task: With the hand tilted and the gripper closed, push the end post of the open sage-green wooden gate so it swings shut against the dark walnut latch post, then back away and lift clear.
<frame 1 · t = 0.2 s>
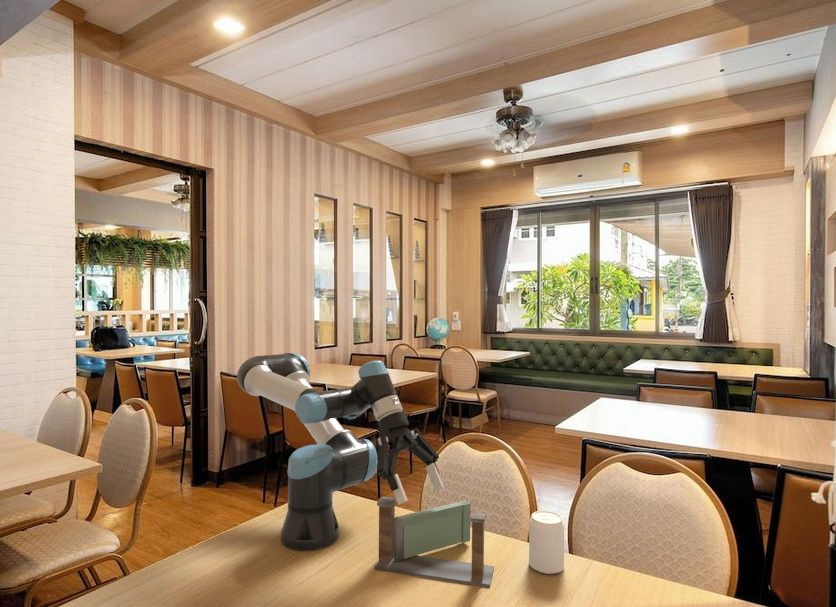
hand: (422, 496, 123), 15 cm above the table, tool tilted 35°, fingers open, 13 cm apart
gate: (432, 529, 126), point 6 cm above the table, hinge at 45.0°
white cylinder: (546, 567, 120), on the table
gate frame: (398, 562, 121), on the table
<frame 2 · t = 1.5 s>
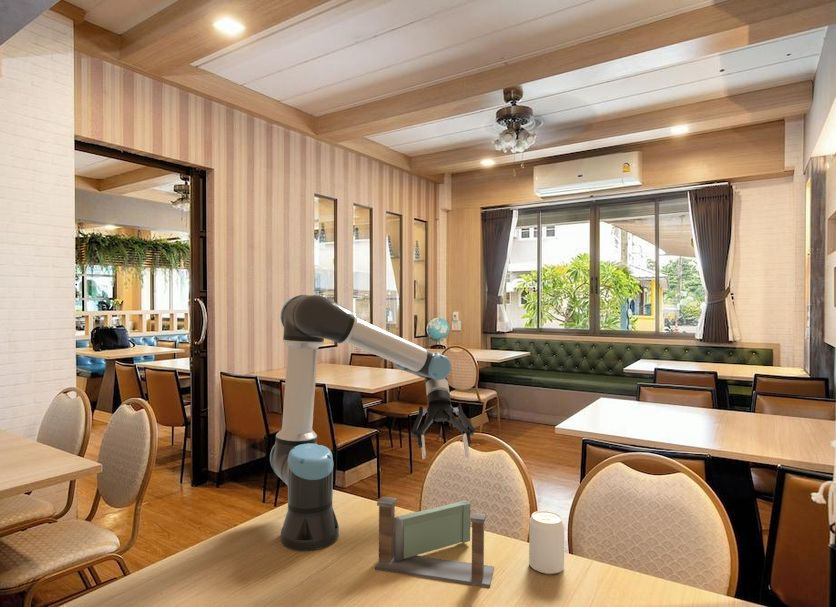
hand: (445, 456, 148), 17 cm above the table, tool tilted 45°, fingers open, 12 cm apart
nothing on the table moved.
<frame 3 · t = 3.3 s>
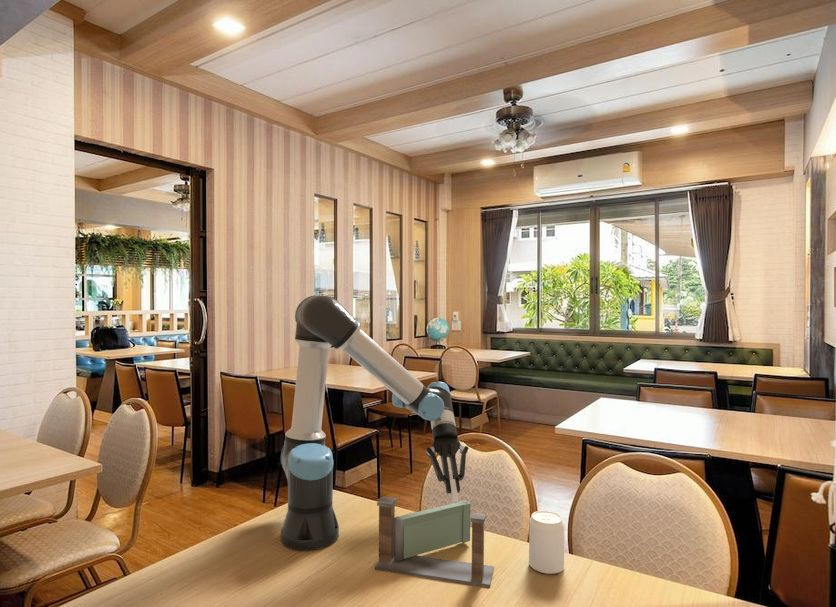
hand: (455, 504, 138), 7 cm above the table, tool tilted 45°, fingers closed
nothing on the table moved.
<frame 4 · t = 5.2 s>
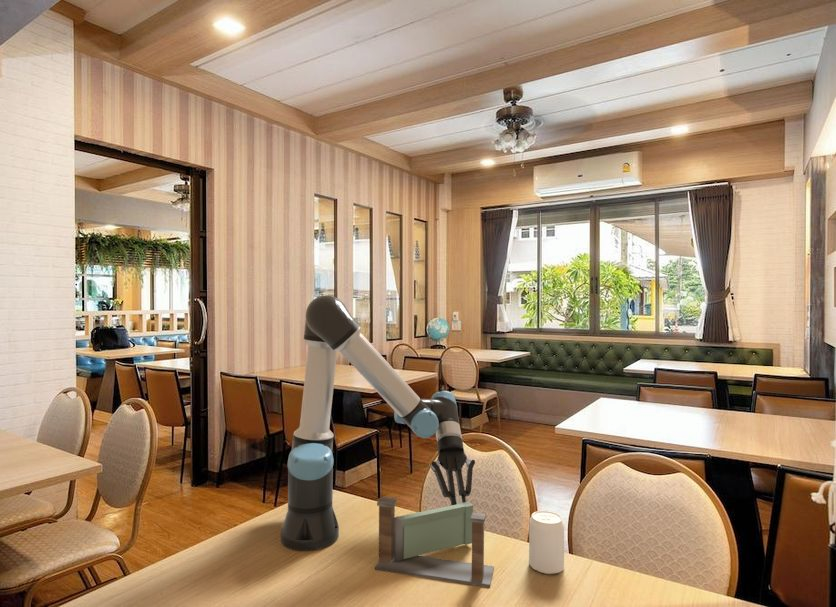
hand: (461, 522, 132), 5 cm above the table, tool tilted 45°, fingers closed
gate: (434, 530, 125), point 6 cm above the table, hinge at 41.4°, touching gripper
everything else where it was.
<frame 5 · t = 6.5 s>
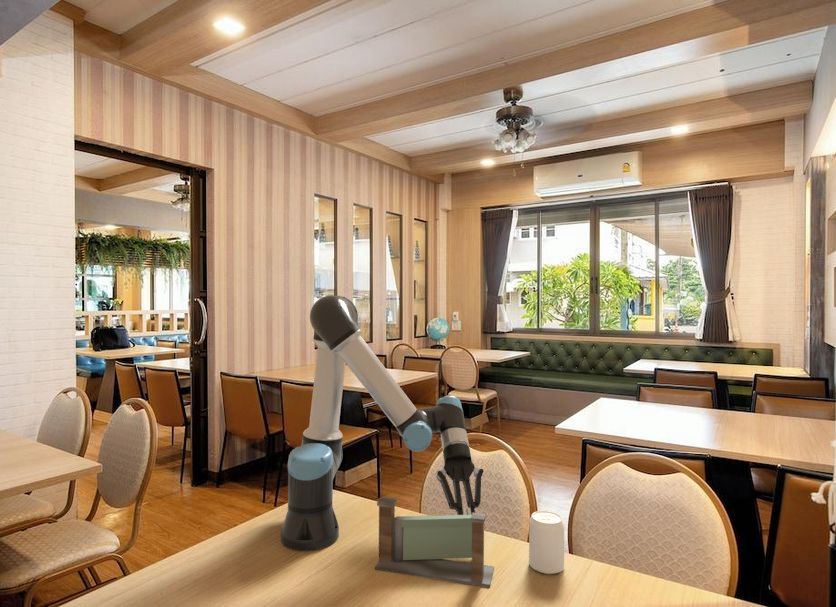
hand: (469, 536, 125), 5 cm above the table, tool tilted 45°, fingers closed
gate: (438, 537, 122), point 6 cm above the table, hinge at 19.0°, touching gripper
everything else where it was.
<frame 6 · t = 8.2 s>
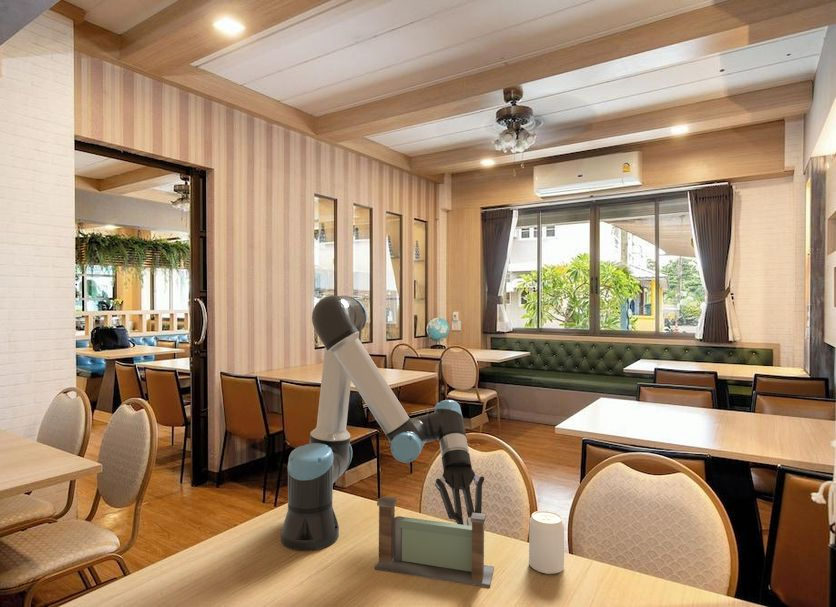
hand: (470, 547, 118), 5 cm above the table, tool tilted 45°, fingers closed
gate: (437, 544, 118), point 6 cm above the table, hinge at -1.1°, touching gate frame, gripper
everything else where it was.
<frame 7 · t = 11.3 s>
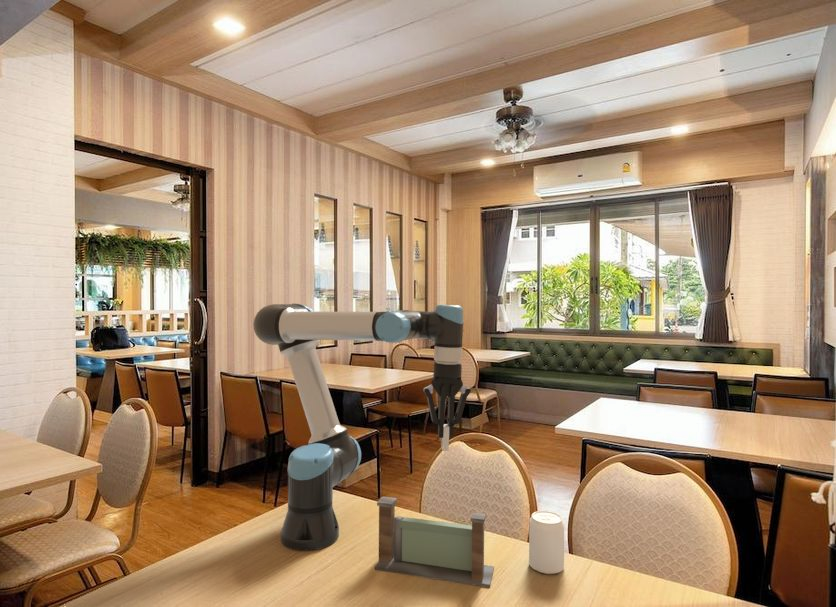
hand: (444, 449, 135), 23 cm above the table, tool pointing down, fingers closed
gate: (437, 543, 118), point 6 cm above the table, hinge at -0.4°
everything else where it was.
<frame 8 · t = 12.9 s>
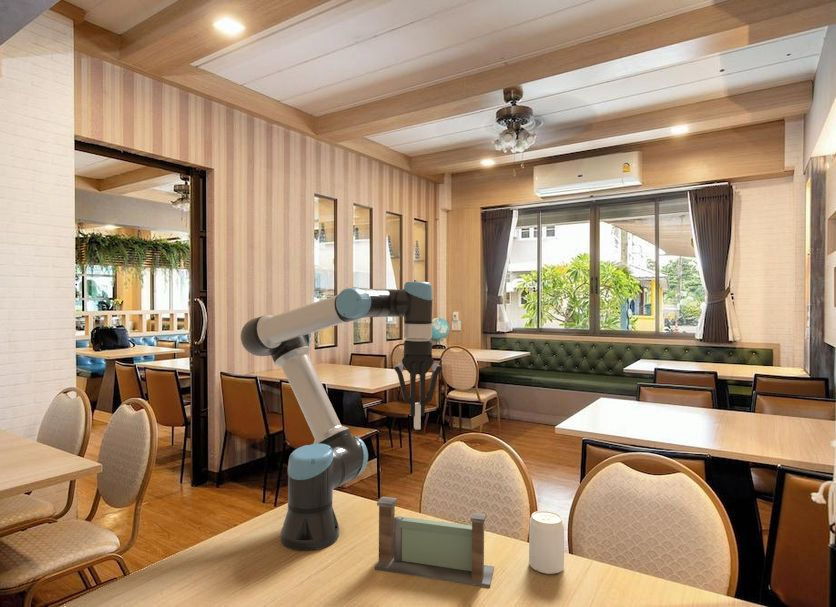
hand: (417, 428, 134), 29 cm above the table, tool pointing down, fingers closed
nothing on the table moved.
at the end: gate at +0° (first picture: +45°); white cylinder moved 0.2 cm from its start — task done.
